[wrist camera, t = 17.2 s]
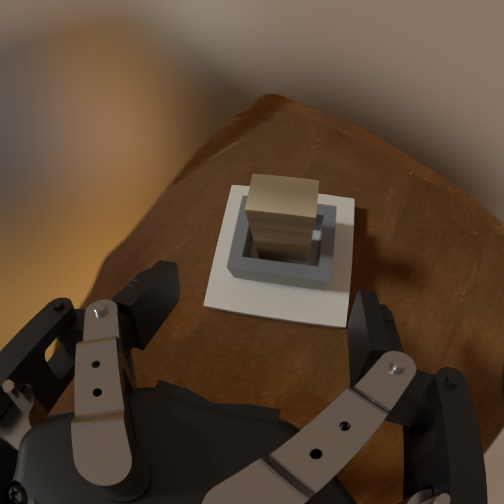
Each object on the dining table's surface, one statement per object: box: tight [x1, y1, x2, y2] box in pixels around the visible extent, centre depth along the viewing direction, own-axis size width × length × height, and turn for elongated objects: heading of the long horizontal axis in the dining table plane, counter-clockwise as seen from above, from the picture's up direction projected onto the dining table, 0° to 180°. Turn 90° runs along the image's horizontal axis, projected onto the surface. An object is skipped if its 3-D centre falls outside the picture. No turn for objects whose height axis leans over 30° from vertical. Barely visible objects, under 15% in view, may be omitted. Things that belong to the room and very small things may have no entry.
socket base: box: [204, 185, 354, 329], centre depth 23 cm, size 12×12×4 cm
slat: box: [245, 174, 319, 265], centre depth 20 cm, size 2×4×9 cm, turn 80°
